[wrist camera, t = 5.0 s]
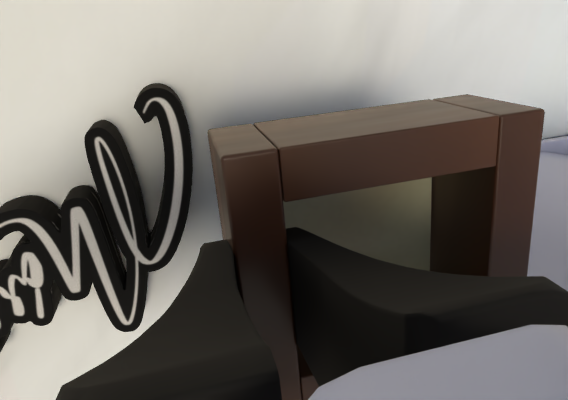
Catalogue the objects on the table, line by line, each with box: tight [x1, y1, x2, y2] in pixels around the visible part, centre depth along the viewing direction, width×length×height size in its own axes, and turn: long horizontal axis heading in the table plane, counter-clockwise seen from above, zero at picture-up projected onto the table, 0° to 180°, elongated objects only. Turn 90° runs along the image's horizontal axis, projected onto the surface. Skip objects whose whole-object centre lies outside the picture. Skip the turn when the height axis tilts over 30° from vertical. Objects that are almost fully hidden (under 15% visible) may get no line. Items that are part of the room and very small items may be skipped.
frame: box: [208, 94, 545, 400], centre depth 13 cm, size 8×7×3 cm
